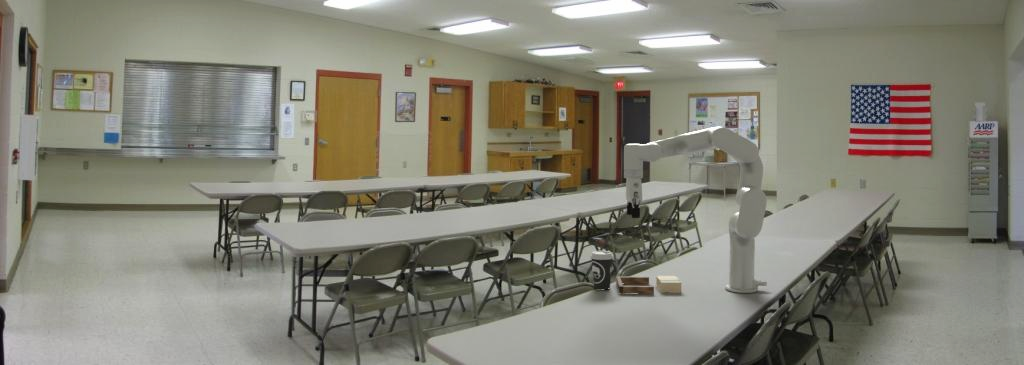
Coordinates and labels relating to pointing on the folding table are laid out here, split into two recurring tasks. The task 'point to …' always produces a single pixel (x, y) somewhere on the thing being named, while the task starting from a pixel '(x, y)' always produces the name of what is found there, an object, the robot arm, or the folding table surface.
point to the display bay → (634, 289)
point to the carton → (668, 284)
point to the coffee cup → (601, 269)
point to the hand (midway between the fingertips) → (633, 216)
